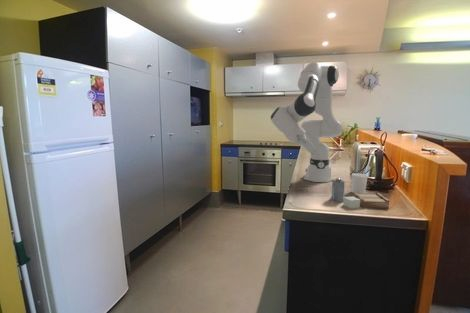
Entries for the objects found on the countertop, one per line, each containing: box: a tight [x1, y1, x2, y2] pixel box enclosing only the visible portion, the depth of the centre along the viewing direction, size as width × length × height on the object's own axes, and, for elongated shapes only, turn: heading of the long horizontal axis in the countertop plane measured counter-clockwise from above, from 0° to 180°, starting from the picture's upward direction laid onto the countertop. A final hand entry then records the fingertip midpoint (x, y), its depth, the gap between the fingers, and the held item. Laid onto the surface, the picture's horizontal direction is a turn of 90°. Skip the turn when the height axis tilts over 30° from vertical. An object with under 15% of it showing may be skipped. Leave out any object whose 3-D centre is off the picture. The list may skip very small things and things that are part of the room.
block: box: [342, 195, 361, 209], centre depth 123 cm, size 5×5×4 cm
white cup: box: [350, 172, 368, 194], centre depth 145 cm, size 8×8×10 cm
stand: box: [352, 192, 390, 209], centre depth 127 cm, size 12×12×4 cm
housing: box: [330, 177, 345, 203], centre depth 132 cm, size 5×5×11 cm
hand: (316, 155), depth 130 cm, fingers open, 8 cm apart
